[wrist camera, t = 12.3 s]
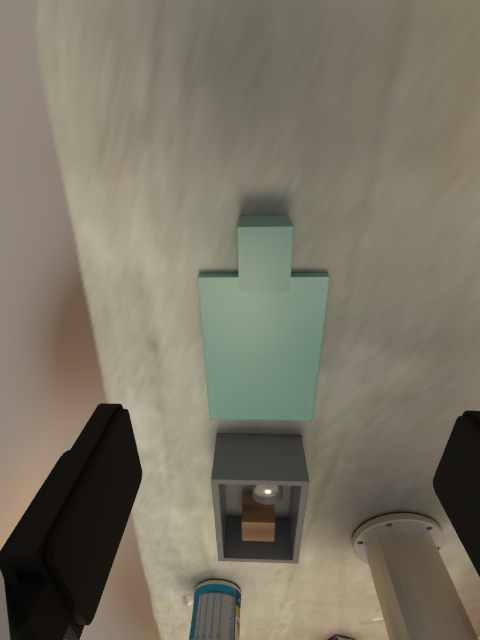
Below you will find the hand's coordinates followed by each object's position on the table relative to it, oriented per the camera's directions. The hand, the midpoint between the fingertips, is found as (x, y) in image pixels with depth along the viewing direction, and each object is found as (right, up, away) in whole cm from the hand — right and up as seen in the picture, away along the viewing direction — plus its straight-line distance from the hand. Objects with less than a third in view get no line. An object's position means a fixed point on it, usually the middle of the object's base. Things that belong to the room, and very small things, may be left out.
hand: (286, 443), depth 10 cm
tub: (+1, -17, +33) cm, 37 cm away
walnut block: (+1, -20, +34) cm, 40 cm away
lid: (+1, +3, +22) cm, 23 cm away
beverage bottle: (-5, -44, +48) cm, 65 cm away
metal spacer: (+2, -15, +31) cm, 34 cm away
